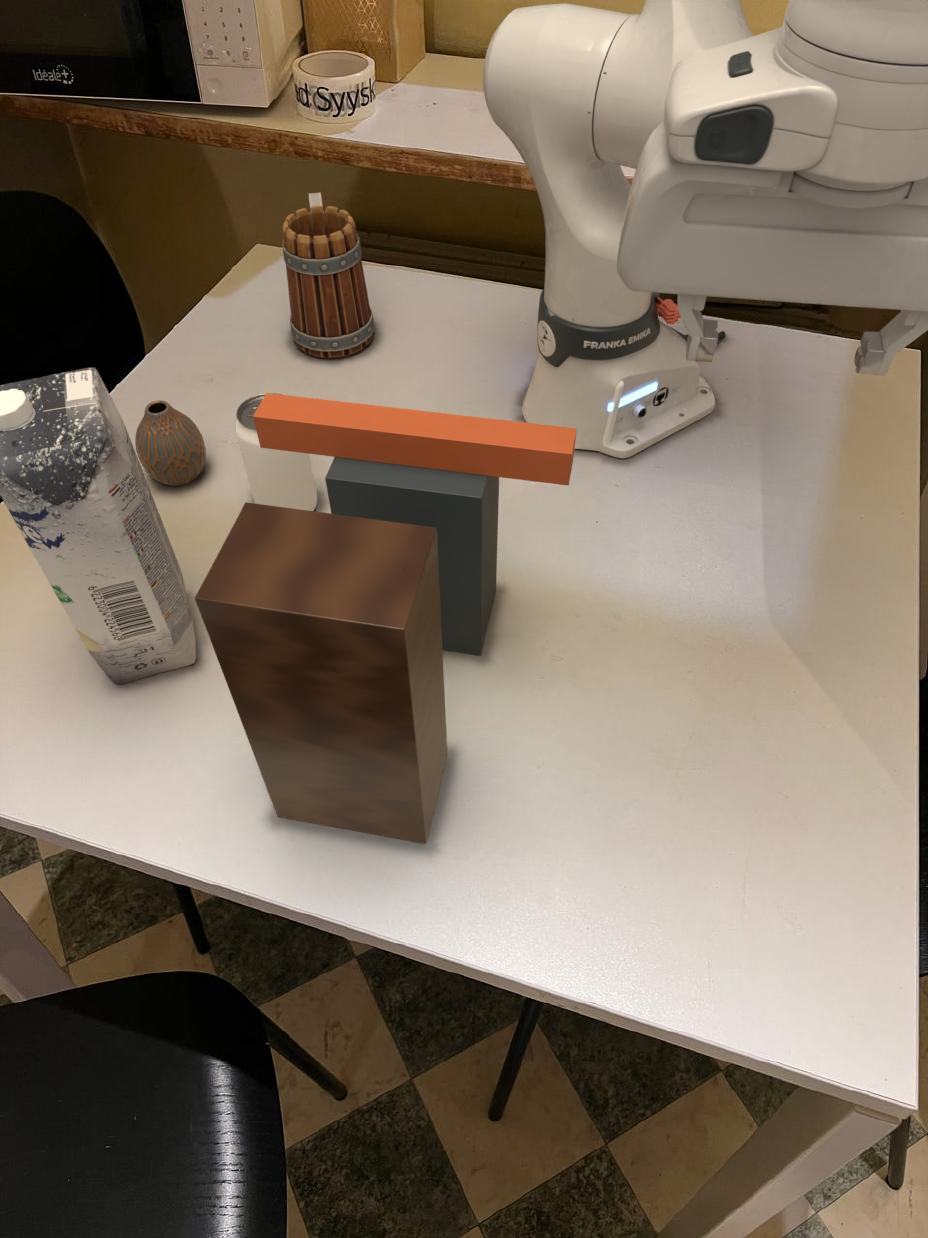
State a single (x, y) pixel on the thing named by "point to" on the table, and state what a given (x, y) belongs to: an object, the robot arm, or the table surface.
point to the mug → (326, 282)
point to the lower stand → (462, 532)
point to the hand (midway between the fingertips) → (782, 361)
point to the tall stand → (335, 664)
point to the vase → (169, 445)
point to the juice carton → (94, 523)
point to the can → (274, 466)
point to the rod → (416, 438)
